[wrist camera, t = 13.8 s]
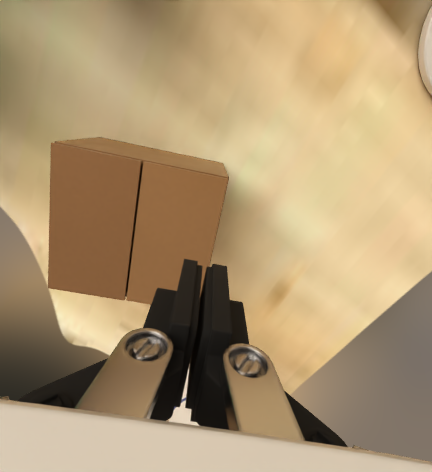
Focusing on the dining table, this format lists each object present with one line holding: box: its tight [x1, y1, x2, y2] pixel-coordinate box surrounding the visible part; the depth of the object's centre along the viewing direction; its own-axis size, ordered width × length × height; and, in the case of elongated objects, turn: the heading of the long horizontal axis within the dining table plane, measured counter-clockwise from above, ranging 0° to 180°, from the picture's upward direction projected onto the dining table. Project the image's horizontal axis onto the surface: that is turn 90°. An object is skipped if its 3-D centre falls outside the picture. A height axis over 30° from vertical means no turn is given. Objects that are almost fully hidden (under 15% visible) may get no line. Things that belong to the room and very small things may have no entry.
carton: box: [48, 137, 229, 300], centre depth 28 cm, size 13×12×10 cm
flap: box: [126, 161, 228, 304], centre depth 24 cm, size 6×12×1 cm, turn 168°
